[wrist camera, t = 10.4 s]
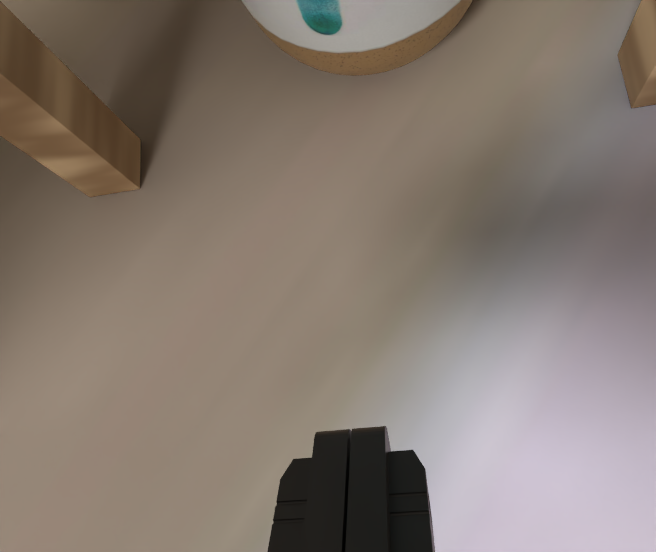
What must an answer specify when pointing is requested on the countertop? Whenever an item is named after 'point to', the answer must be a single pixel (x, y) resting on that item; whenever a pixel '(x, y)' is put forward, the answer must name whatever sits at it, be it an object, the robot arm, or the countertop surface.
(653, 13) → the riser shelf
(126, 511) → the countertop surface
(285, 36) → the vase
